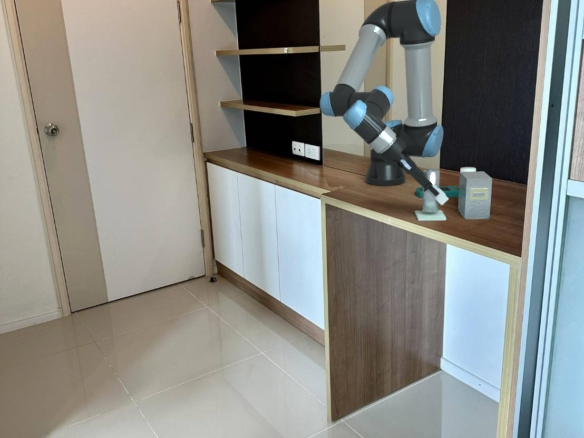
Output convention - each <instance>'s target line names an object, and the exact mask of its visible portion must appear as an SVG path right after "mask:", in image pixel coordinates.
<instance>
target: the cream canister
mask: <svg viewBox="0 0 584 438" xmlns="http://www.w3.org/2000/svg"><path fill="white" fill-rule="evenodd" d="M460 172H477V168H476V167H474V166H472V167H471V166H463V167H460ZM460 172H459V173H460Z"/></svg>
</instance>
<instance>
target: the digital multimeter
mask: <svg viewBox="0 0 584 438" xmlns="http://www.w3.org/2000/svg"><path fill="white" fill-rule="evenodd" d="M439 188H440V189H441V190H442V191H443V192H444V193H445V194H446V196H447V197H448V198H459V186H457V185H451V186H449V185H448V186H447V185H446V186H439ZM415 192H416V193H415V196H416V197H418V198H420V199H423V187H422V186H417V188H416V190H415Z"/></svg>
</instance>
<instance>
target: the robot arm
mask: <svg viewBox="0 0 584 438" xmlns="http://www.w3.org/2000/svg"><path fill="white" fill-rule="evenodd" d="M441 26H442V17H441V11H440V8H439V6H438V3H437V2H436V1H435V0H397V1H388V2H385V3H383V4H382V5H379V6H378V7H377V8H375V9H374V10H373V11H372V12H371V13H370V14H369V15H368V16H367V17H366V18H365V20H364V21H363V23H362V25H361V27H360V28H359V29H358V39H357V42H356V44H355V45H354V47H353V49H352V51H351V54H350V55H349V57H348V59H347V61H346V63H345V65H344V67H343V70H342V71H341V74H340V76H339V78H338V80H337V83H336V84H335V86H334V88H333V90H332V91H331V90H330V91H326V92H324V93H322V95H321V97H320V100H319V107H320V111H321V113H322V114H323V115H324V116H327V117H334V118H336V117H341V118H342V119H343V122H345V123H346V124H347V125H348V127H349V128H350V129H351V130H353V132H355V134H357V135H358V136H359V137H360V138H361V139H362V140H363V141H364V142H365V144H367V145H369V150H370V156H369V157H370V160H369V161H370V163H369V166H368V167H367V172H366V174H365V182H366V183H367V184H369V185H372V186H384V187H385V186H389V187H391V186H398V185H402V184H405V182H406V174H407V175H410V177H412V178H413V179H414V180H415V181H416V182H417V183H418V184H419V185H420V187H423V188H424V190H423V191H424V192H425V191H426V190H427V191H428V192H429V193H430V194H431V195H432V196H433V197H434V198H435V199H436V200H437V201H438V204H440V206H443V205H444V204H445V203H446V202H448V200H449V198H450V197H447V196H446V194H445V193H444V192H443V191H442V190H441V189H440V188H439V189H438V188H437V187H436V186H435V185H434V184H432V182H430V181H429V180H428V179H427V178H426V177H425V176H424V175H423V170H422V169H420V167H418V165H417V164H416V162H415V161H414V160H413V159H412V158H413V157H414V158H415V157H416V158H423V159H425V158H434V157H436V156H437V155H438V153H439V151H440V149H441V147H442V144H443V138H444V128H443V125H442V124H441V125H440V124H438V118H437V117H436V116H434V115H433V89H432V88H433V86H432V85H433V84H432V83H433V82H432V81H433V80H432V52H431V51H432V50H431V47H432V45H433V44H434V43H435V42H436V41H435V40H436V37H437V36H438V35H439V34H440V32H441ZM389 39H398V40H399V45H400V46H401V47H402V48H403V49H404V63H405V64H404V66H405V83H406V105H407V117H406V118H405V119H404V121H402V120H401V119H393V120H386V121H384V120H383V119H384V117H385V116H386V114H387V113H388V112H389V111H390V109H391V107H392V105H393V104H394V99H395V96H394V94H393V91H392V90H391V89H390V88H388V87H387V86H384V85H379V86H376V87H374V88H373V89H372V90H371V91H361V90H360V89H361V88H362V85H363V83H364V81H365V79H366V77H367V75H368V74H369V73H368V72H369V71H370V68H371V66H372V65H373V61H374V59H375V58H376V56H377V54H378V51H379V49H380V48H381V47H383V46H384V45H385V43H386V41H387V40H389ZM411 157H412V158H411Z"/></svg>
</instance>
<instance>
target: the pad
mask: <svg viewBox="0 0 584 438" xmlns="http://www.w3.org/2000/svg"><path fill="white" fill-rule="evenodd" d="M414 214H415V217H416V219H417V221H419V222H420V221H422V222H423V221H425V222H426V221H447V217H446V215H445V214H444V212H443V211H442V210H441V209H438V211H437V212H425V211H422V209H421V210H417V209H416V210H414Z"/></svg>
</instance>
